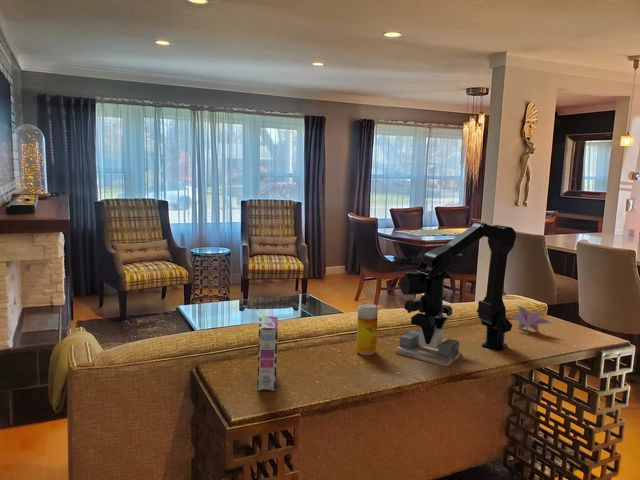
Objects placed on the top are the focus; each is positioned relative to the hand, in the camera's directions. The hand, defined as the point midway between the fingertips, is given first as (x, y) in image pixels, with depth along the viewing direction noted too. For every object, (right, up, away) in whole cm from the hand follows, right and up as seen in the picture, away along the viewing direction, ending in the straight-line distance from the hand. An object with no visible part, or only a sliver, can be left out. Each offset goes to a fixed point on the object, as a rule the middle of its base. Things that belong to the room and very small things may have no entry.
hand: (430, 341), depth 157 cm
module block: (0, -1, 0) cm, 1 cm away
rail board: (-1, -4, 0) cm, 4 cm away
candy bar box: (-48, -6, -24) cm, 54 cm away
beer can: (-20, -4, 0) cm, 20 cm away
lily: (+40, -2, +24) cm, 47 cm away
